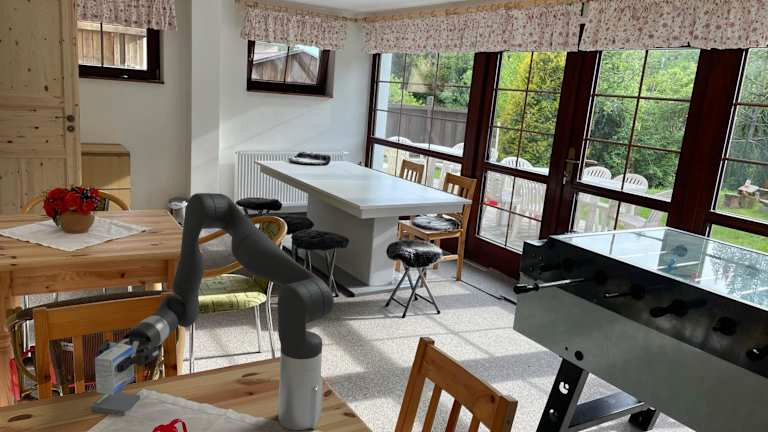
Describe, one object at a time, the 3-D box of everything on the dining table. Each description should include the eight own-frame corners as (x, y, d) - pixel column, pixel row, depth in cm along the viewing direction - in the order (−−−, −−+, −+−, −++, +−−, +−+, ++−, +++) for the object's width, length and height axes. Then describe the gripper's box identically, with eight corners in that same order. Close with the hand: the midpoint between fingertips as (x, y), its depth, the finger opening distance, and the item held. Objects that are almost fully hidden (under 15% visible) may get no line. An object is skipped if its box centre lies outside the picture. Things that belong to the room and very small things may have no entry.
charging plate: (140, 399, 140) (140, 394, 140) (124, 415, 133) (123, 410, 133) (108, 395, 141) (108, 390, 141) (90, 410, 134) (90, 405, 134)
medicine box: (113, 396, 132) (112, 360, 130) (95, 392, 133) (94, 357, 131) (134, 379, 140) (134, 345, 138) (117, 376, 141) (116, 342, 139)
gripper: (120, 318, 149) (76, 347, 132) (174, 325, 147) (137, 356, 131) (121, 345, 151) (78, 378, 134) (174, 352, 149) (138, 387, 132)
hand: (107, 367), depth 132 cm, fingers closed on medicine box, 4 cm apart
